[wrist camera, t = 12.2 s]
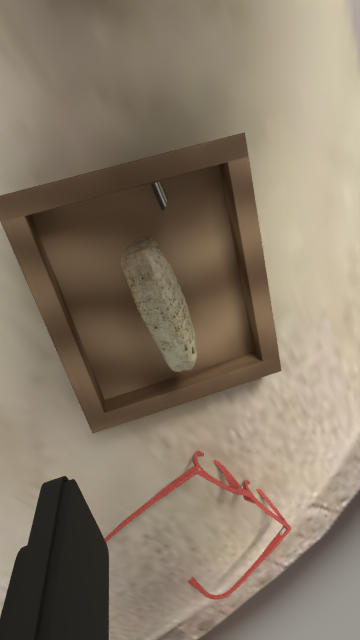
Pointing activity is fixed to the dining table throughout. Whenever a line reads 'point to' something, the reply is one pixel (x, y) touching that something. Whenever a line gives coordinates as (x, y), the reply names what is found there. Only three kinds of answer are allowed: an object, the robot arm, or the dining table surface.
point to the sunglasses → (233, 488)
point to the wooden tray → (112, 287)
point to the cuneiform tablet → (160, 298)
